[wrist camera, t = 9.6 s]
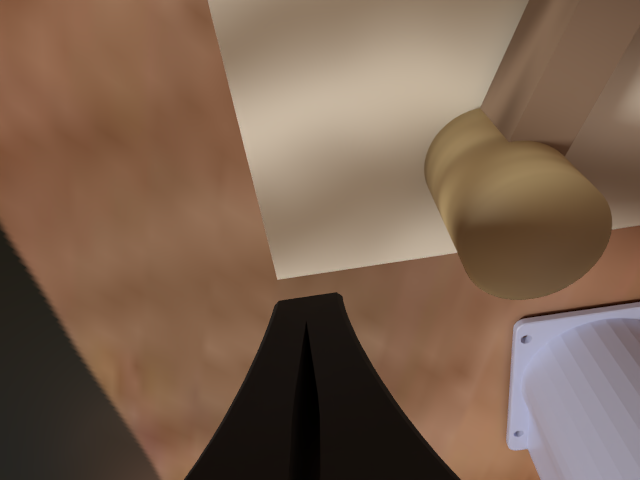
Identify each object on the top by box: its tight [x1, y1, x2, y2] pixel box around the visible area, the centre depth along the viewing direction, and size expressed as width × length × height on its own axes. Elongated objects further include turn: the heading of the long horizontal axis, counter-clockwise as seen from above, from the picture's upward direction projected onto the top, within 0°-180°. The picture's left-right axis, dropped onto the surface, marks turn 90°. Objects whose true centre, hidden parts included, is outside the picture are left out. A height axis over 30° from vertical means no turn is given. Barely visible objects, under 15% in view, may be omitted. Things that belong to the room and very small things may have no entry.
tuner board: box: [208, 0, 640, 280], centre depth 17 cm, size 18×16×1 cm
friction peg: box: [424, 0, 640, 300], centre depth 14 cm, size 15×4×5 cm, turn 164°
